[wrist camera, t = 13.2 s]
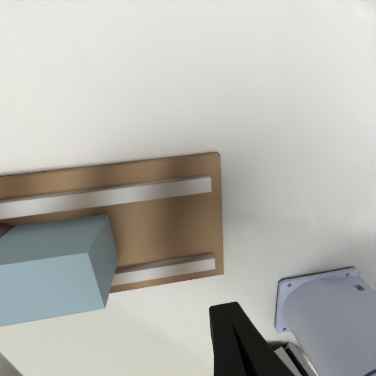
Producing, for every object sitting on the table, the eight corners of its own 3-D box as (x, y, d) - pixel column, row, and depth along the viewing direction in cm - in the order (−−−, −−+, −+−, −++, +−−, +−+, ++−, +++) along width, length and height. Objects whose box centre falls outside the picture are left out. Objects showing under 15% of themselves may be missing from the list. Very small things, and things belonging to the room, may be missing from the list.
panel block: (107, 213, 17) (87, 252, 12) (118, 258, 18) (104, 308, 14) (15, 225, 16) (-43, 271, 11) (35, 271, 18) (-10, 328, 13)
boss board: (216, 152, 17) (238, 166, 13) (220, 267, 21) (238, 309, 17) (-46, 181, 15) (-134, 210, 11) (15, 300, 20) (-30, 359, 15)
